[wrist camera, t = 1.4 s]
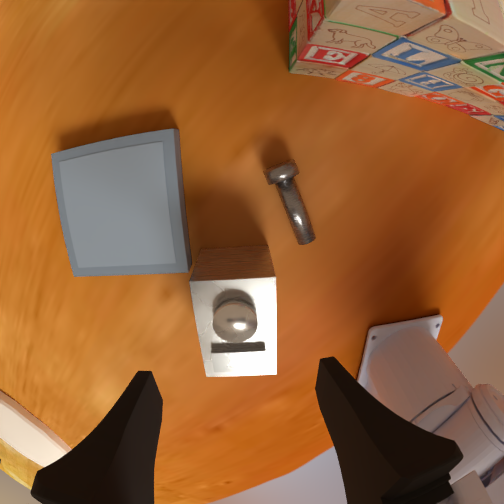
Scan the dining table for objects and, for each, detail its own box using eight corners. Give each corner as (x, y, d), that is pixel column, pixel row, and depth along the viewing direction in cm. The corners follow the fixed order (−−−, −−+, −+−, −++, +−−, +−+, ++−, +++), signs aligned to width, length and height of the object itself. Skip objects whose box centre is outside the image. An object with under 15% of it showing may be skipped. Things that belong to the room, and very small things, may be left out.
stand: (192, 263, 20) (188, 272, 18) (83, 268, 20) (73, 276, 18) (178, 129, 17) (173, 128, 15) (62, 152, 16) (50, 154, 15)
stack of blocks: (504, 73, 14) (601, 73, 3) (507, 134, 16) (610, 155, 5) (285, -2, 13) (330, -122, 2) (285, 75, 16) (352, -23, 4)
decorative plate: (-25, 426, 28) (-49, 367, 21) (-18, 414, 32) (-36, 353, 25) (69, 490, 33) (77, 462, 26) (74, 476, 37) (85, 442, 30)
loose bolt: (318, 231, 19) (326, 241, 17) (291, 242, 19) (296, 253, 18) (291, 158, 17) (297, 160, 16) (262, 170, 18) (264, 173, 16)
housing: (270, 329, 22) (277, 382, 17) (212, 332, 22) (205, 385, 17) (268, 244, 20) (277, 284, 14) (201, 248, 20) (186, 288, 14)
